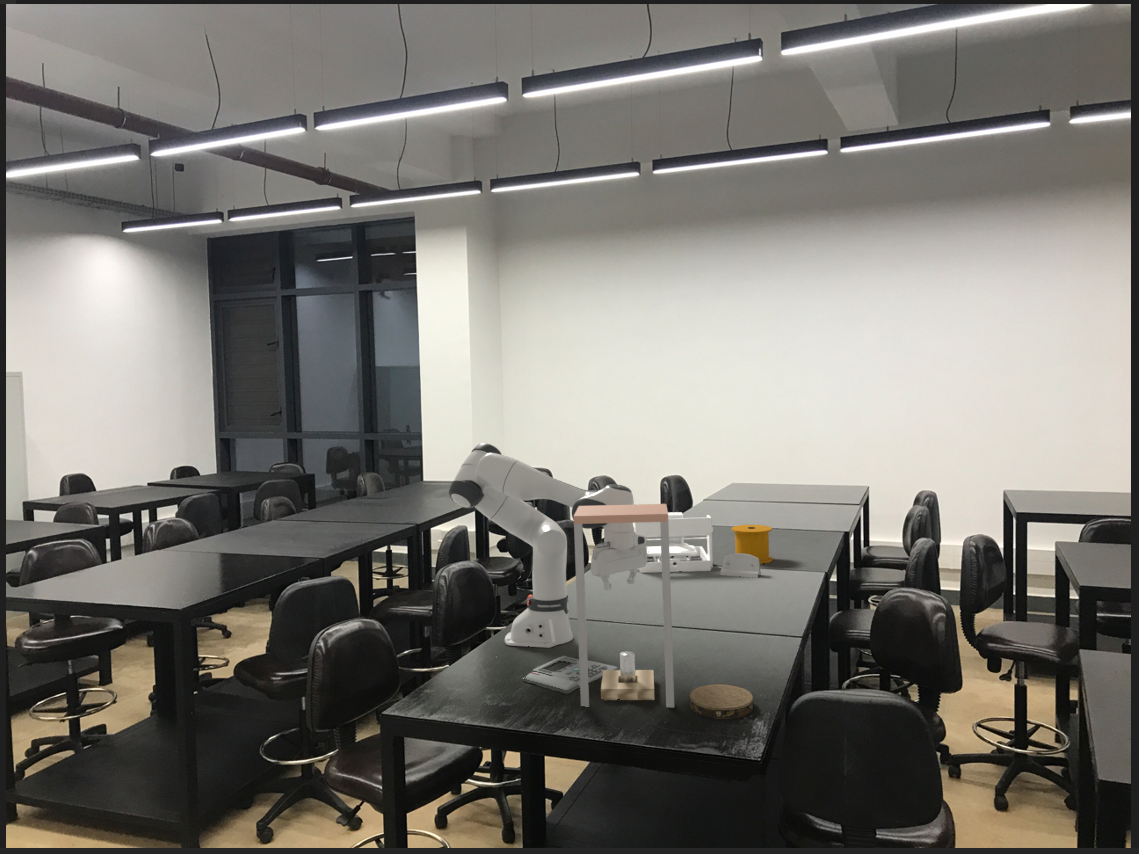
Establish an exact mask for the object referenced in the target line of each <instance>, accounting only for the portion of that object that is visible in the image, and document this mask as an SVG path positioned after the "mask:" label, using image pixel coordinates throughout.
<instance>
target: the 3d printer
mask: <svg viewBox="0 0 1139 854" xmlns="http://www.w3.org/2000/svg"><path fill="white" fill-rule="evenodd" d="M712 522H713V521H712V517H711V515H709V514H706V517H684V513H683V512H681V511H680V512H679V511H676V512H674V511H673V512H670V511H668V525H669V557H670V573H675V572H679V571H682V572H707V571H708V572H710V571H711V570H712V569H713V567H714V562H713V561H714V559H713V557H714V556H713V535H712V534H713V532H714V526H713V525H712ZM634 533H635V534H637V535H641V536H645V537H646V538H647V541H661V528H660V522H636V523H634ZM696 536H697V537H696ZM698 536H699V537H698ZM701 536H703V537H701ZM703 539H704V540H706V542H707V544H706V545H707V552H706V551H705V548H704V547H703V546H702V545H700V546H699V545H698V546H694V545H693V544H692V545H691V544H689V543H686V542H685V540H703ZM646 547H647V556H653V558H652V559H653V561H647V564H646V566H645V567H642V568H637V572H639V573H642V574H643V573H644V574H645V573H646V574H647V573H662V558H661V545H659V546H646ZM671 556H674V557H671ZM687 556H688V557H687ZM692 557H699V558H702V559H701V560H699V559H697V560H692ZM674 563H675V565H674Z"/></svg>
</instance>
